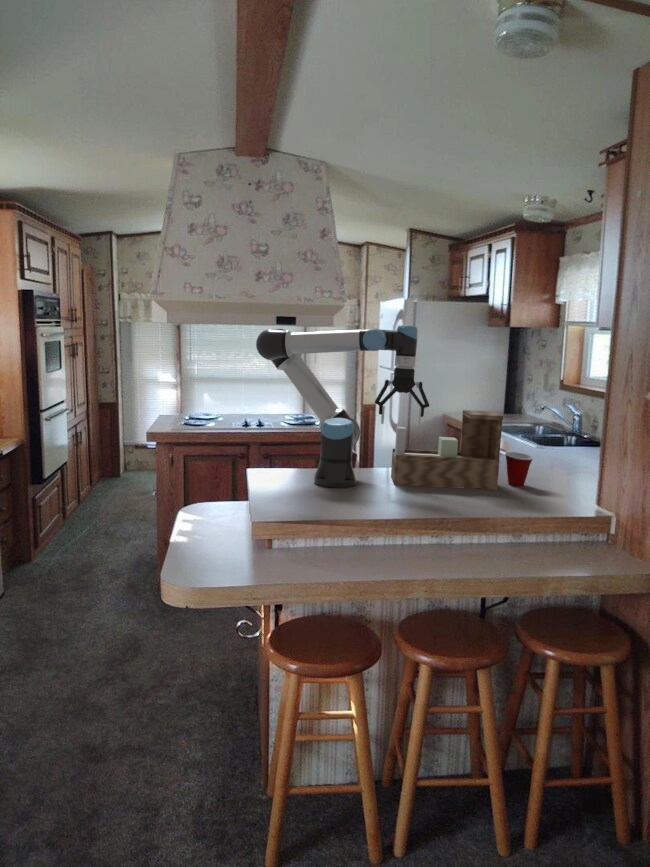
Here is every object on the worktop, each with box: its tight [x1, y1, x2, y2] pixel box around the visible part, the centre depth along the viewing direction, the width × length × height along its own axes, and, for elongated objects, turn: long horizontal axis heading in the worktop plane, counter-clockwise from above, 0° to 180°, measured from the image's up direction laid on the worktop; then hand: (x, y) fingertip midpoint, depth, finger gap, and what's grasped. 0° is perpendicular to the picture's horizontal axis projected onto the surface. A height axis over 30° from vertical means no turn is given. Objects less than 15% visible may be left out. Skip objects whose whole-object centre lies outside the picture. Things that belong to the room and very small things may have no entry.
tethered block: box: [394, 426, 459, 458], centre depth 249 cm, size 22×7×10 cm, turn 89°
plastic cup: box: [504, 451, 535, 487], centre depth 253 cm, size 11×11×12 cm
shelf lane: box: [390, 409, 504, 490], centre depth 249 cm, size 38×14×28 cm, turn 89°
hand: (400, 424), depth 248 cm, fingers open, 13 cm apart
